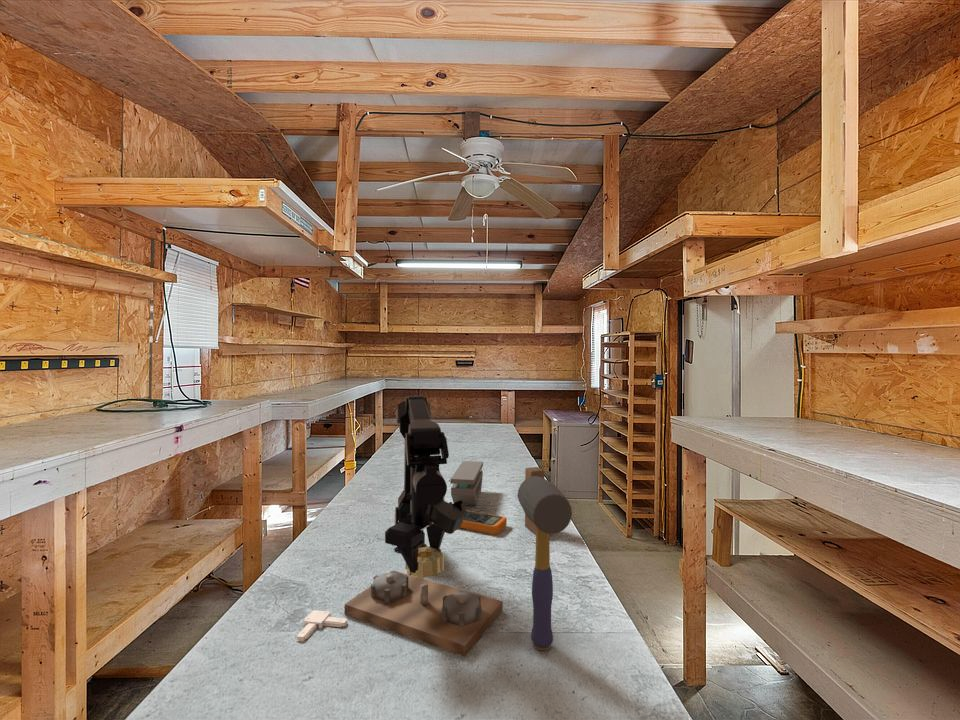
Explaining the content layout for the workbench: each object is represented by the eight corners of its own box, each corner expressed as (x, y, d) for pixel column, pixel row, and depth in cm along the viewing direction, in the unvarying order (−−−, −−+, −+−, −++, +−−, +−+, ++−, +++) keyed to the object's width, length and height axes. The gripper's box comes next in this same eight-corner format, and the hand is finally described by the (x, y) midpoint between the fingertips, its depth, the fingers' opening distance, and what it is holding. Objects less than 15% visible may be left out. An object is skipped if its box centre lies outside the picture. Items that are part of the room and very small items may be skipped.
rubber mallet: (514, 627, 88) (515, 473, 88) (551, 624, 89) (552, 472, 89) (530, 672, 76) (532, 494, 75) (573, 668, 77) (575, 492, 77)
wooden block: (551, 535, 132) (552, 474, 132) (537, 537, 131) (538, 475, 131) (537, 524, 141) (538, 466, 140) (524, 526, 139) (524, 467, 139)
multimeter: (456, 517, 147) (456, 507, 147) (507, 527, 139) (507, 516, 139) (442, 526, 139) (442, 515, 139) (496, 537, 132) (496, 525, 132)
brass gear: (398, 572, 92) (398, 557, 91) (420, 557, 98) (420, 543, 98) (429, 581, 88) (429, 566, 88) (449, 565, 95) (450, 551, 95)
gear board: (344, 613, 93) (344, 587, 92) (393, 578, 107) (393, 555, 107) (464, 657, 80) (465, 626, 80) (502, 610, 94) (502, 584, 94)
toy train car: (473, 512, 151) (473, 479, 151) (450, 511, 152) (450, 478, 152) (482, 489, 176) (483, 461, 176) (462, 488, 177) (463, 460, 177)
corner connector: (330, 647, 83) (330, 639, 83) (290, 642, 84) (290, 634, 84) (350, 622, 91) (350, 614, 91) (313, 617, 92) (313, 610, 92)
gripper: (432, 509, 81) (432, 595, 81) (480, 482, 97) (480, 554, 98) (383, 499, 86) (382, 581, 86) (436, 475, 102) (436, 543, 103)
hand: (424, 564), depth 93 cm, fingers closed on brass gear, 7 cm apart
